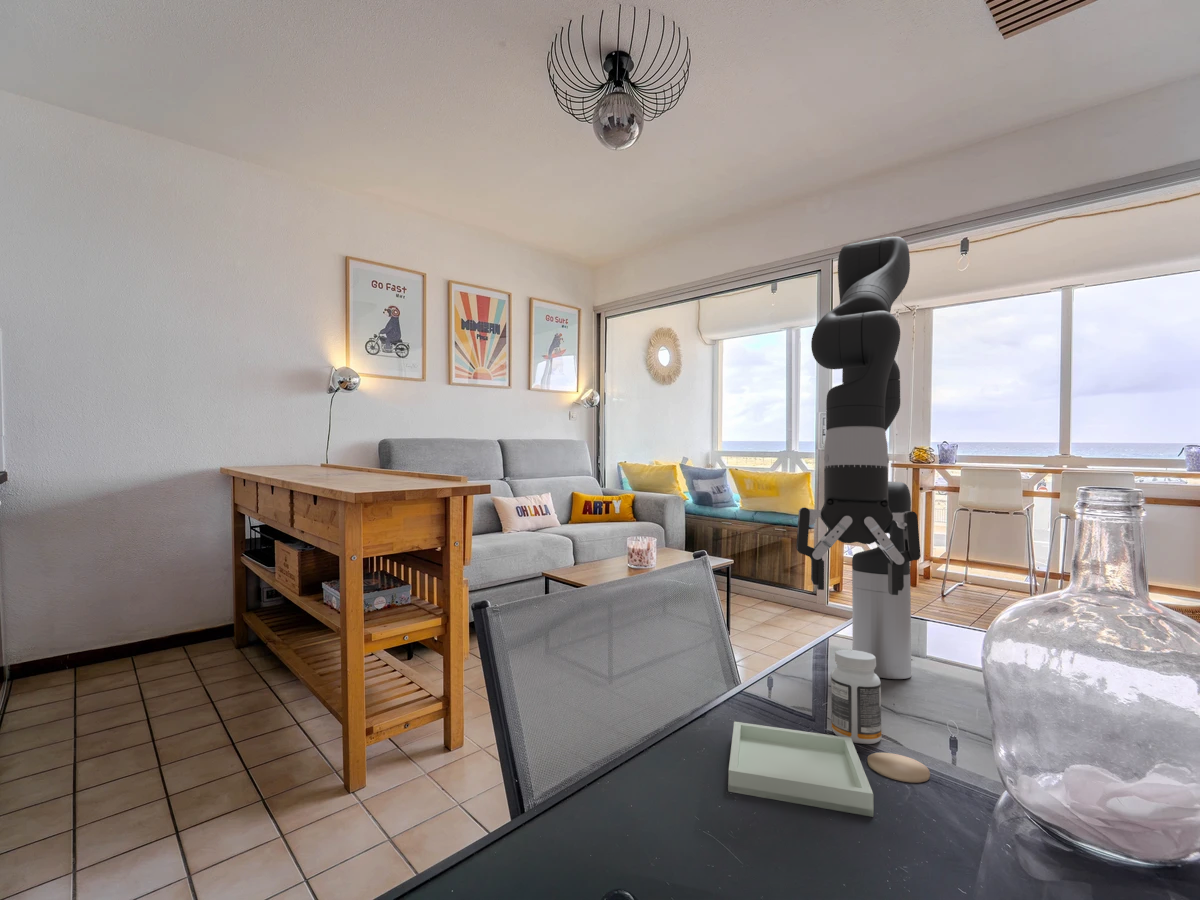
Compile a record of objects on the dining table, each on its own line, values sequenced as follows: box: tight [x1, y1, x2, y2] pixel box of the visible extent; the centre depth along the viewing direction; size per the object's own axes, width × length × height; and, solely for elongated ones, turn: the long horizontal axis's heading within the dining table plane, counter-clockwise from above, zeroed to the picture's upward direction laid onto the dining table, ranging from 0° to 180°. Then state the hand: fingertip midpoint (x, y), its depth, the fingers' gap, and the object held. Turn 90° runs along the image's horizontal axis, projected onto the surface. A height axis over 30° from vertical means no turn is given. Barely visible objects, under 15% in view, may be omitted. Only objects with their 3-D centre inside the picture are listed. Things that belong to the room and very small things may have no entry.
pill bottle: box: [830, 649, 883, 745], centre depth 70 cm, size 6×6×10 cm
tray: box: [727, 721, 875, 818], centre depth 59 cm, size 13×13×2 cm
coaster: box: [867, 752, 931, 784], centre depth 61 cm, size 6×6×1 cm
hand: (855, 591), depth 71 cm, fingers open, 8 cm apart
